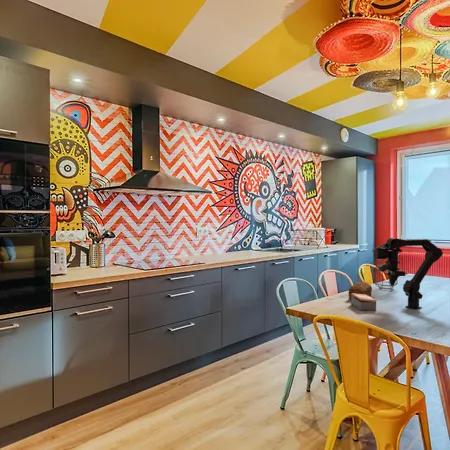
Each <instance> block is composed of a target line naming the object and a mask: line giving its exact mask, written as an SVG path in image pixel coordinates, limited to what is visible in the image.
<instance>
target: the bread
mask: <svg viewBox="0 0 450 450" xmlns="http://www.w3.org/2000/svg"><path fill="white" fill-rule="evenodd" d="M352 293H355V294H364V295H367V296H369V297H371V298H372V293H373V288H372V285H370V284H369V283H367V282H365V281H358V282H356V283H354V284H353V285H351V286H350V287H349V288H348V300H350V301H351V297H354V296H353V295H351V294H352Z"/></svg>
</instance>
